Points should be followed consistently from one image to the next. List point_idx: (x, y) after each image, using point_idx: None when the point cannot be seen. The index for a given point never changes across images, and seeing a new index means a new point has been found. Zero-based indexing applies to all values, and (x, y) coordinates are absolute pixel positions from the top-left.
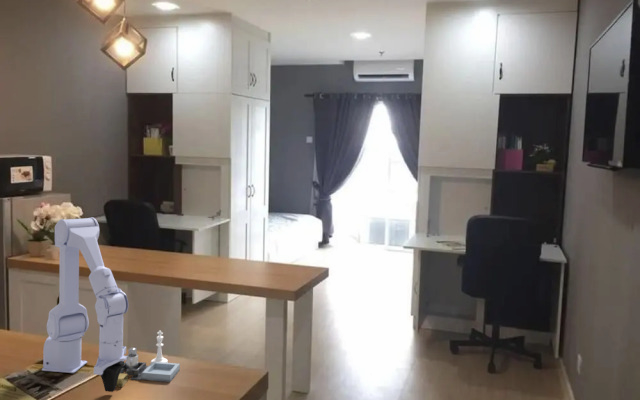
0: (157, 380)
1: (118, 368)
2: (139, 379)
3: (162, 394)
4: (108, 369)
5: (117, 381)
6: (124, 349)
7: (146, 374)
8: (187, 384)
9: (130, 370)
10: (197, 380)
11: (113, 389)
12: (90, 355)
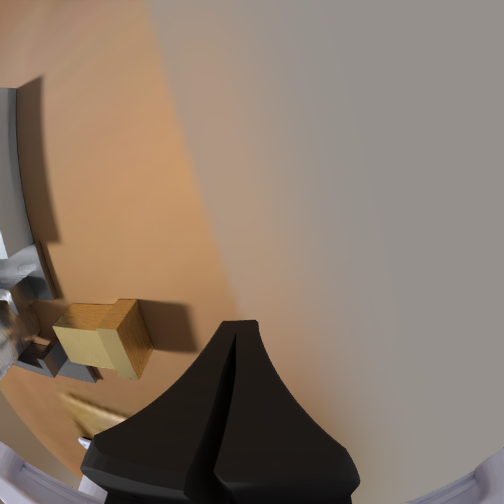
0: (16, 156)
1: (308, 479)
2: (40, 253)
3: (150, 14)
4: (347, 498)
5: (134, 346)
6: (2, 496)
7: (6, 229)
8: (35, 7)
9: (24, 325)
10: (8, 10)
11: (254, 326)
12: (53, 430)
